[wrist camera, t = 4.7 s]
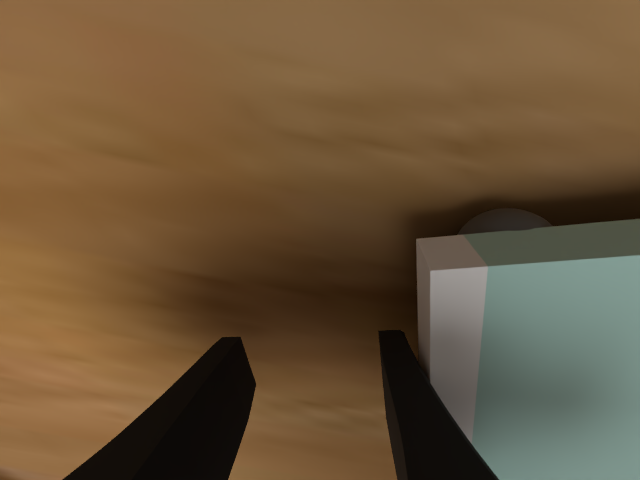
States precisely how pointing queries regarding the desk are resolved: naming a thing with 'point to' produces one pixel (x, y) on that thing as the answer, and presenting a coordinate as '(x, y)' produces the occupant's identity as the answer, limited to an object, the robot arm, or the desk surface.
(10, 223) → the desk surface
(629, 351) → the mint green block
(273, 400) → the desk surface
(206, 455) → the robot arm
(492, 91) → the desk surface
